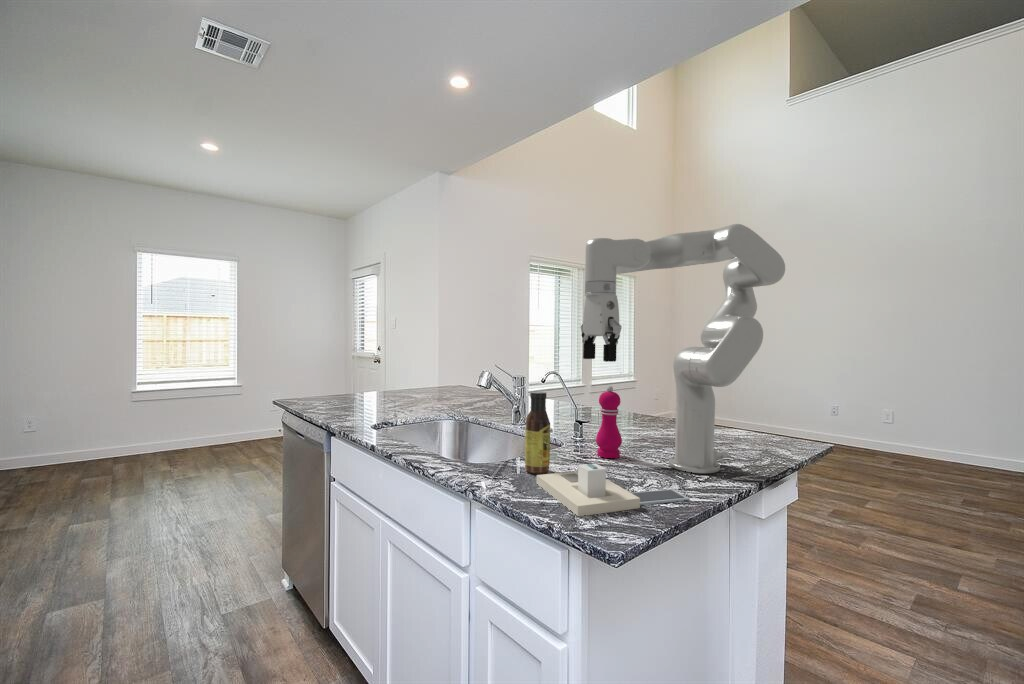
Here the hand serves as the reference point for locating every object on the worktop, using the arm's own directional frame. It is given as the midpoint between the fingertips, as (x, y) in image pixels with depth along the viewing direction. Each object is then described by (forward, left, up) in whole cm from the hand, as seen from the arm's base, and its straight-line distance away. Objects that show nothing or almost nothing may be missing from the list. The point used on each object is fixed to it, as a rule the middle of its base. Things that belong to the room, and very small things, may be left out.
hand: (599, 360), depth 115 cm
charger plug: (+10, +15, -28) cm, 34 cm away
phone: (-4, +18, -29) cm, 34 cm away
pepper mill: (-12, -14, -28) cm, 34 cm away
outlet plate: (+10, +12, -28) cm, 32 cm away
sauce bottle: (+13, -7, -28) cm, 32 cm away
